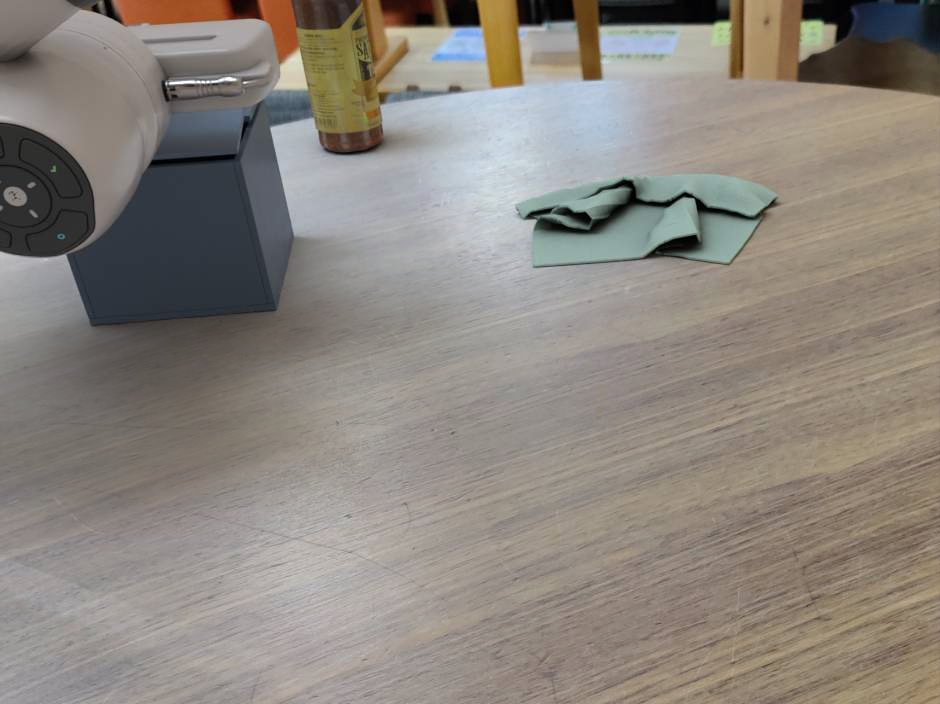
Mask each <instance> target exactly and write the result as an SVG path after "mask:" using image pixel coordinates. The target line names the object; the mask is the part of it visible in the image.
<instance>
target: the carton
mask: <svg viewBox="0 0 940 704" xmlns="http://www.w3.org/2000/svg"><path fill="white" fill-rule="evenodd" d="M290 215H291V214H290V211H289V206H288V202H287V197H286V193H285V188H284V183H283V179H282V174H281V170H280V165H279V160H278V157H277V152H276V147H275V143H274V139H273V134H272V130H271V125H270V121H269V117H268V111H267V107H266V102H265V98H264V99H263V100H261V101H260V102H258V103H256V104H254V105H252V106H248V107H246V109H245V115H244V121H243V127H242V134H241V140H240V146H239V152H238V154H228V155H214V156H201V157H187V158H174V159H160V160H151V163H150V164H149V166H148V167H147V169H146V170H145V171H144V173H143V174H142V176H141V179H140V182H139V184H138V186H137V189H136V191H135V192H134V194H133V196H132V198H131V199H130V201H129V202H128V204H127V205H126V207H125V208H124V210H123V211H122V213H121V214H120V215H119V217H118V218H117V219H116V220H115V222H114V223H113V224H112V225H111V226H110V228H109V229H108V230H107V231H106V232H105V233H104V234H102V235H101V236H100V237H99V238H98V239H97V240H95V241H94V242H93V243H91V244H89V245H88V246H86V247H84V248H82V249H80V250H78V251H75V252H72V253H69V254H66V255H65V256H66V258H67V261H68V265H69V267H70V270H71V273H72V275H73V279H74V281H75V285H76V287H77V290H78V293H79V296H80V298H81V302H82V305H83V307H84V311H85V312H86V316H87V318H88V322H89V324H90V326H100V325H111V324H123V323H124V324H125V323H135V322H146V321H159V320H161V321H162V320H173V319H185V318H195V317H208V316H218V315H219V316H220V315H221V316H222V315H231V314H232V315H233V314H244V313H254V311H256V312H268V311H276V310H277V309H278V305H279V300H280V296H281V291H282V287H283V284H284V280H285V275H286V270H287V266H288V262H289V258H290V254H291V250H292V245H293V241H294V237H295V233H294V230H293V224H292V220H291V216H290Z"/></svg>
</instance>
